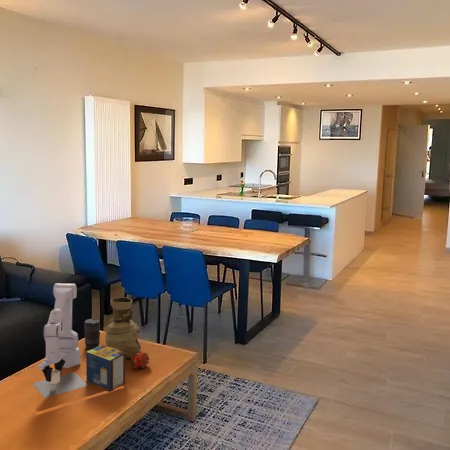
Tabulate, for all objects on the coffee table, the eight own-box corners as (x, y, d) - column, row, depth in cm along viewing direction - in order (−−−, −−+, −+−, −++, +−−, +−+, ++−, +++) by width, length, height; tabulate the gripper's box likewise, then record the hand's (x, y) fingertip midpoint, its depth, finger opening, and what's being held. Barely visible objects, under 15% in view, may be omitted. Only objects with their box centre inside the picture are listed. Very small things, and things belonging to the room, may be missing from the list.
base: (74, 374, 239) (74, 365, 238) (88, 387, 226) (88, 378, 226) (32, 385, 226) (32, 376, 225) (44, 400, 214) (44, 390, 213)
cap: (62, 380, 221) (62, 370, 220) (54, 384, 216) (54, 375, 215) (54, 377, 223) (53, 367, 222) (45, 381, 218) (45, 372, 218)
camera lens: (88, 343, 275) (88, 317, 272) (102, 344, 273) (102, 319, 271) (82, 349, 267) (81, 322, 264) (96, 350, 266) (96, 324, 263)
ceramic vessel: (151, 350, 269) (152, 297, 264) (126, 364, 251) (126, 308, 246) (123, 342, 278) (124, 291, 273) (97, 355, 259) (97, 301, 254)
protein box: (101, 374, 240) (102, 344, 237) (125, 383, 232) (126, 352, 229) (85, 382, 231) (85, 351, 228) (109, 392, 223) (110, 360, 221)
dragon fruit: (149, 365, 254) (134, 377, 245) (138, 353, 256) (122, 365, 246) (156, 356, 250) (140, 368, 240) (144, 344, 252) (129, 355, 242)
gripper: (58, 342, 225) (58, 370, 228) (33, 353, 213) (33, 383, 215) (69, 345, 222) (70, 373, 225) (45, 357, 210) (45, 387, 212)
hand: (53, 378), depth 220 cm, fingers closed on cap, 5 cm apart
